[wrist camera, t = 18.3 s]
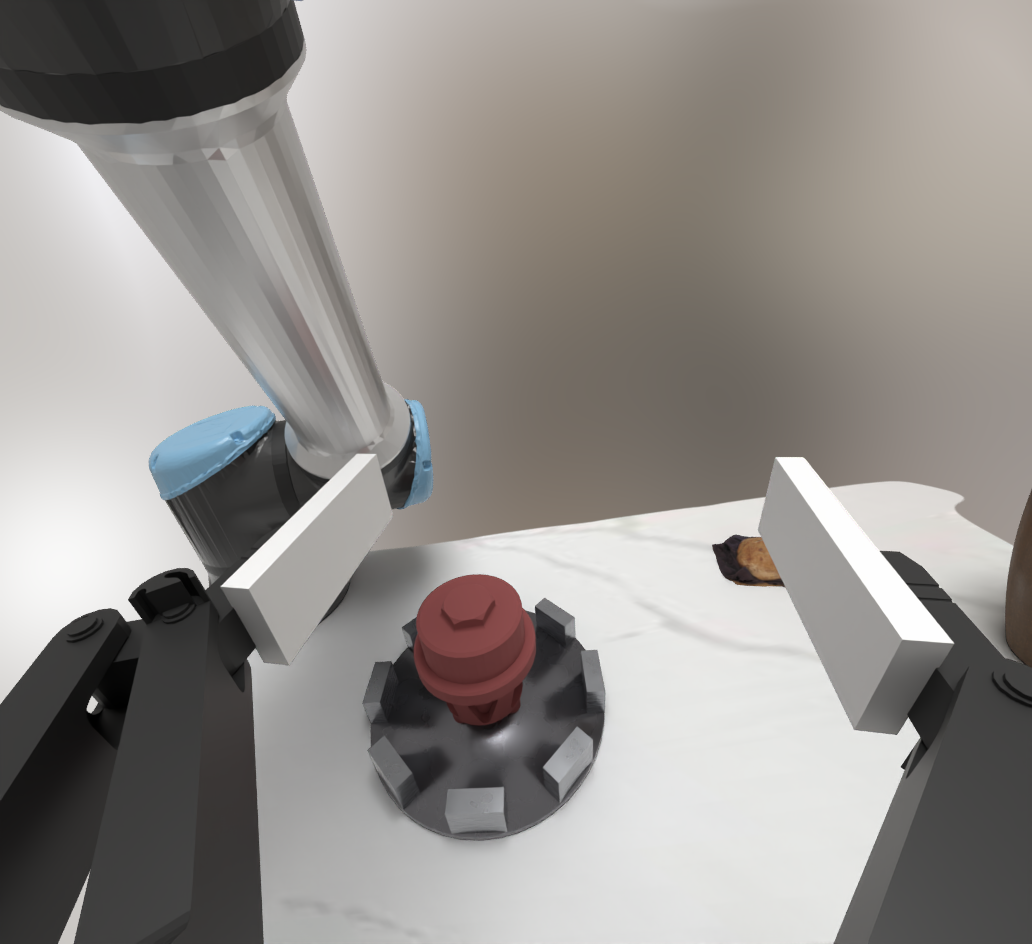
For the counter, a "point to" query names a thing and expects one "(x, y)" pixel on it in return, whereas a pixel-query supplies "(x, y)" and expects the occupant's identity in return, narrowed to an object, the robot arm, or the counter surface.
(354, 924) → the counter surface
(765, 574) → the bread roll
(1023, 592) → the plant pot
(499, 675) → the mechanical component
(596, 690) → the castellated collar
